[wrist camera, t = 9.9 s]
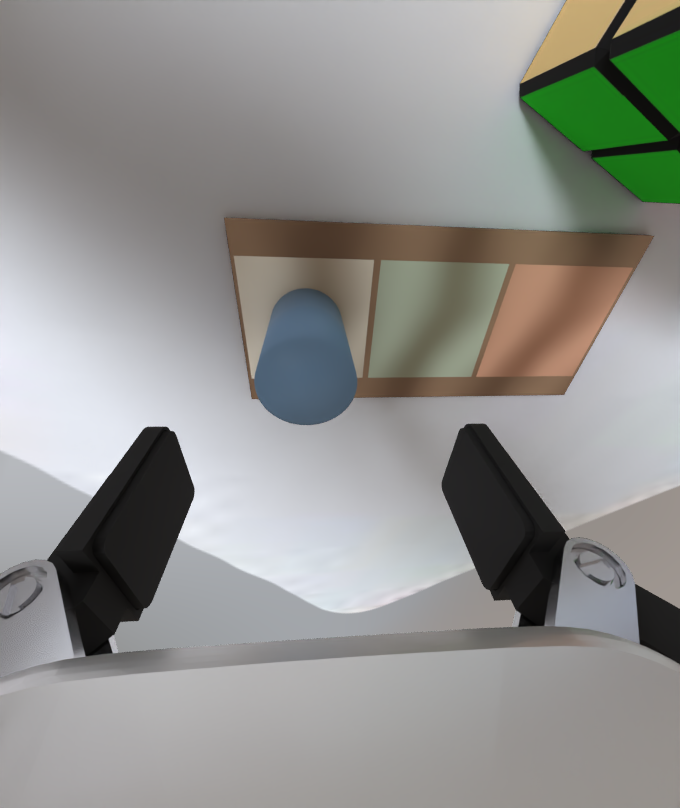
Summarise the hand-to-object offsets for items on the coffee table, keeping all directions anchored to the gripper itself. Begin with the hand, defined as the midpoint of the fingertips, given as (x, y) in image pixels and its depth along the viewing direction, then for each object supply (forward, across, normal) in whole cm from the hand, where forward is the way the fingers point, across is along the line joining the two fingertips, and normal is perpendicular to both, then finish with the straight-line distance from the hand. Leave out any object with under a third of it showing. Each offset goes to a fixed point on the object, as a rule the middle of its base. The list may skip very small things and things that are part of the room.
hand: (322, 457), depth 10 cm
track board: (+11, -7, -1) cm, 14 cm away
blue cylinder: (+11, +1, -1) cm, 11 cm away
